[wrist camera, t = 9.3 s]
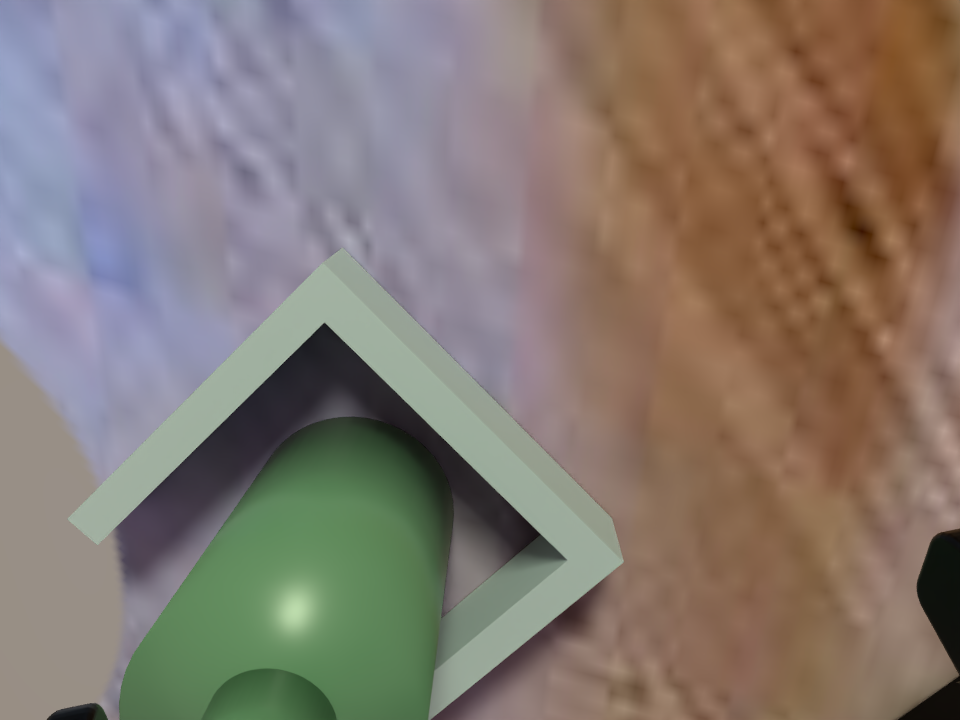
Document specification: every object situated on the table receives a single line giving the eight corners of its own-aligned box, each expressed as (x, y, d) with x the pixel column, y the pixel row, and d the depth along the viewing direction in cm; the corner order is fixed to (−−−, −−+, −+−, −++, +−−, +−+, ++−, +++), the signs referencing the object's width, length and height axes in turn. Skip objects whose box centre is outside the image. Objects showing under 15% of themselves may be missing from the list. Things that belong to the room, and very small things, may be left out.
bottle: (494, 514, 24) (486, 878, 13) (357, 633, 25) (233, 1068, 14) (352, 376, 23) (199, 631, 12) (215, 505, 24) (-48, 857, 13)
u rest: (611, 518, 24) (624, 561, 22) (376, 714, 26) (362, 774, 24) (342, 247, 22) (322, 262, 20) (110, 479, 24) (67, 519, 22)
